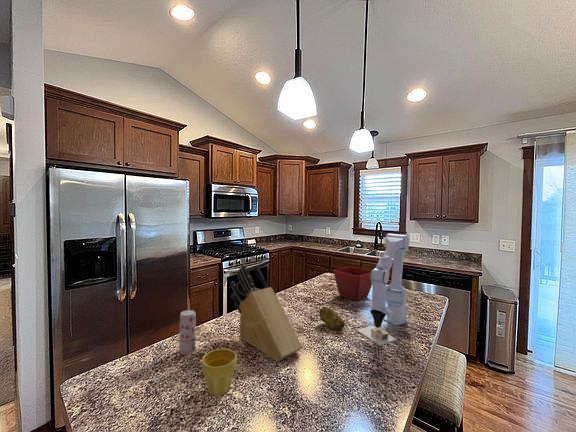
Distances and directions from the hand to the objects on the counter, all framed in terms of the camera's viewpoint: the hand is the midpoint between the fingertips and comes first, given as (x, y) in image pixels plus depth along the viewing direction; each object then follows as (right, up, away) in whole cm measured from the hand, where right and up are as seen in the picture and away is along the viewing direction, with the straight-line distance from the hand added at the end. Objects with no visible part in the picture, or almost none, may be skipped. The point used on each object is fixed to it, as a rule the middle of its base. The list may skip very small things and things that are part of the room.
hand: (377, 326), depth 115 cm
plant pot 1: (-61, -4, -35) cm, 70 cm away
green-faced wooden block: (-1, -3, +1) cm, 3 cm away
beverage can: (-78, -3, -15) cm, 80 cm away
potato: (-19, -4, +9) cm, 22 cm away
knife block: (-50, -4, -7) cm, 51 cm away
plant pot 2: (+2, -3, +52) cm, 52 cm away
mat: (-1, -4, +1) cm, 5 cm away
